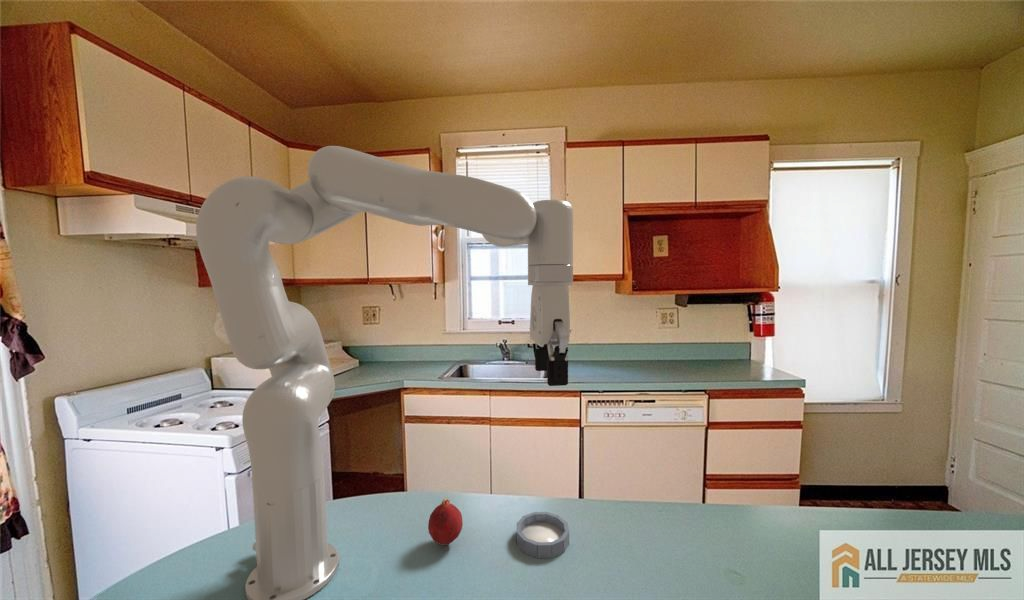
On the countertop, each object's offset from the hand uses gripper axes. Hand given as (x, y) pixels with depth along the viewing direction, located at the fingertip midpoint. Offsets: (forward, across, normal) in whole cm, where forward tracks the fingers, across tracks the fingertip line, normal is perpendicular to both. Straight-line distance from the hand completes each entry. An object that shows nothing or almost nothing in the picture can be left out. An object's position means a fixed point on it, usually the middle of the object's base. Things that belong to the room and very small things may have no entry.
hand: (550, 377), depth 67 cm
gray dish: (+29, 0, -1) cm, 29 cm away
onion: (+29, -2, -18) cm, 34 cm away
